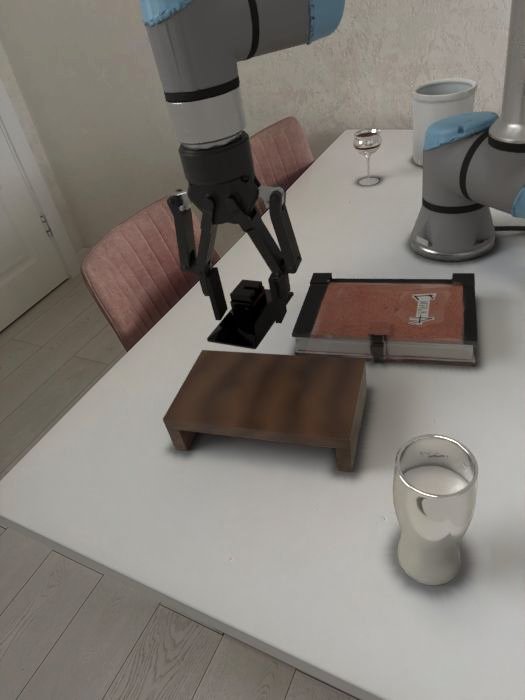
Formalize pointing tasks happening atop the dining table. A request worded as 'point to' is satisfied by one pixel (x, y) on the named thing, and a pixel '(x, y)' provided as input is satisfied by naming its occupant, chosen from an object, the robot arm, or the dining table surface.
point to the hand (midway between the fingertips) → (251, 315)
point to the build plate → (246, 316)
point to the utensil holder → (438, 106)
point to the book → (389, 319)
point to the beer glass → (433, 505)
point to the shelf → (272, 400)
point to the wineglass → (367, 148)
